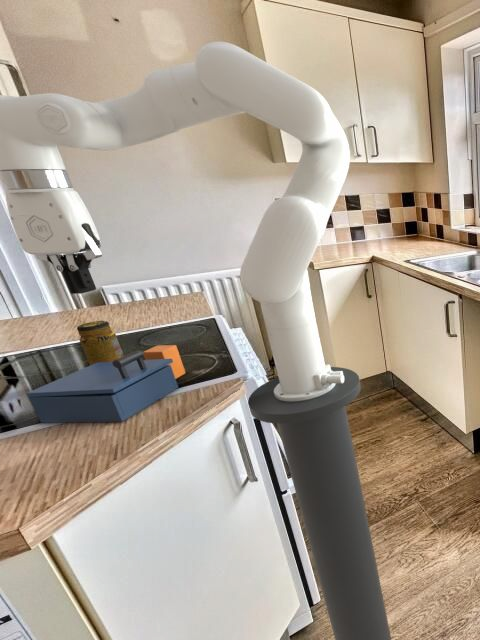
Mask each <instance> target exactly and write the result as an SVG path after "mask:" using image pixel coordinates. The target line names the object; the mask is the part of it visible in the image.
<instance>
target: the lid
mask: <svg viewBox="0 0 480 640" xmlns="http://www.w3.org/2000/svg"><path fill="white" fill-rule="evenodd" d="M143 352H144V351H142V350H140V349H137V350H134V351H132V352H130V353H128V354H125V355H124V356H123V357H121V358H119V359H116V360H114V361H113V362H97V363H95V364H93V365H89V366H86V367H84V368H81V369H79V370H76V371H73V372H72V373H70V374H67V375H65V376H63V377H60V378H58V379H56V380H54V381H51V382H50V383H47V384H44V385H42V386H39V387H37V388H35V389H32V390H30V391H28V392H25V393H26V396H27V397H40V396H61V395H81V394H102V393H115V392H117V391H119V390H121V389H123V388H125V387H126V386H128V385H130V384H132V383H134V382H136V381H138V380H140V379H142V378H144V377H145V376H147V375H149V374H151V373H153V372H155V371H157V370H159V369H161V368H163V367H165V366H166V365H168V364H170V363H172V362H173V360H172V359H154V360H145V359H143V358H144V354H143Z"/></svg>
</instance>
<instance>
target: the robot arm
mask: <svg viewBox="0 0 480 640" xmlns="http://www.w3.org/2000/svg"><path fill="white" fill-rule="evenodd" d="M242 114H248V115H250V116H252V117H254V118H256V119H258V120H260V121H262V122H264V123H266V124H268V125H269V126H270V125H271V126H272V127H274V128H275V129H278V130H280V131H283V132H284V133H287V134H288V135H290V136H292V137H293V138H295V139H297V140H298V141H300V143H301V147H302V149H301V155H300V158H299V160H298V161H297V163H296V166H295V168H294V170H293V173H292V176H291V179H290V181H289V183H288V185H287V187H286V189H285V191H284V193H283V195H282V197H280V198H277V199H276V200H274V201H273V202H271V204H270V205H268V207H267V209H266V210H265V211H264V214H263V216H262V217H261V220H260V222H259V224H258V227H257V229H256V230H255V231H256V232H255V234H254V236H253V237H252V241H251V243H250V245H249V247H248V249H247V252H246V254H245V257H244V259H243V261H242V263H241V267H240V271H239V278H240V283H241V286H242V288H243V290H244V291H245V293H246V294H247V295H248V296H249V297H250V298H251V299H253V300H254V301H257V302H259V303H260V307H261V313H262V318H263V322H264V326H265V330H266V333H267V338H268V342H269V346H270V350H271V354H272V357H273V361H274V365H275V369H276V373H277V377H279V381H280V383H279V384H278V385H277V386H276V387H275V389H274V395H275V397H276V398H277V399H279V400H282V401H287V402H295V401H304V400H309V399H312V398H316V397H318V396H321V395H323V394H325V393H327V392H329V391H330V390H331V389H333V388H334V386H335V385H336V383H344V375H343V371H332V370H331V368H330V367H331V364H326V362H325V357H324V353H323V347H322V343H321V338H320V334H319V328H318V324H317V323H318V322H317V319H316V315H315V314H316V313H315V308H314V303H313V298H312V292H311V284H310V277H309V271H308V268H309V266H310V263H311V262H312V259H313V257H314V254H315V253H316V250H317V249H318V246H319V244H320V242H321V240H322V238H323V237H324V235H325V233H326V230H327V225H328V223H329V222H328V221H329V219H330V216H331V214H332V212H333V209H334V208H335V205H336V203H337V201H338V198H339V195H340V193H341V191H342V189H343V187H344V183H345V181H346V178H347V175H348V172H349V169H350V163H351V162H350V158H351V155H350V153H351V152H350V146H349V142H348V138H347V135H346V133H345V131H344V129H343V127H342V126H341V124H340V122H339V120H338V119H337V117H336V116H335V114H334V112H333V111H332V109H331V107H330V104H329V103H328V101H327V100H326V98H325V97H324V96H323V95H322V94H321V93H320V92H319V91H318V90H316V89H315V88H314V87H312V86H311V85H309V84H307V83H305V82H303V81H301V80H300V79H298V78H296V77H294V76H293V75H291V74H289V73H287V72H285V71H283V70H282V69H280V68H277V67H276V66H274V65H273V64H270V63H269V62H267V61H264V60H263V59H261V58H259V57H257V56H256V55H254V54H252V53H250V52H248V51H247V50H245V49H243V48H242V47H240V46H237V45H236V44H234V43H230V42H226V41H212V42H208V43H207V44H205V45H203V46H202V47H200V48H199V50H198V51H197V54H196V55H195V60H194V61H191V62H186V63H181V64H177V65H173V66H168V67H163V68H158V69H154V70H151V71H149V72H147V74H146V75H145V77H144V80H143V84H142V85H141V87H140V88H138V89H137V90H134V91H133V92H130V93H128V94H125V95H121V96H117V97H114V98H110V99H105V100H100V101H96V102H91V101H88V100H83V99H81V98H77V97H72V96H70V95H65V94H61V93H46V92H45V93H37V94H30V95H21V96H14V95H3V94H0V176H1V178H2V182H3V183H4V185H5V187H6V189H7V192H5V201H6V206H7V211H8V214H9V218H10V221H11V224H12V227H13V230H14V232H15V235H16V237H17V240H18V243H19V244H20V246H21V249H22V250H23V251H24V253H27V254H28V255H29V254H30V255H33V256H34V255H35V258H36V259H37V260H39V261H44V262H49V263H51V264H52V265H53V267H54V268H55V269H56V270H57V271H58V272H59V273H60V272H61V274H62V276H63V279H64V282H65V284H66V286H67V288H68V291H69V293H70V294H72V295H77V294H78V295H80V294H85V293H89V292H94V291H96V290H97V287H96V284H95V281H94V279H93V277H92V274H91V271H90V269H91V268H92V261H93V260H96V259H98V258H101V257H103V253H102V252H101V250H100V248H101V247H102V241H101V238H100V235H99V231H98V229H97V227H96V224H95V222H94V220H93V218H92V215H91V214H90V212H89V209H88V207H87V206H86V205H85V202H84V200H83V199H82V197H81V196H80V194H79V193H78V191H77V190H74V189H75V188H74V186H73V184H72V181H71V179H70V176H69V173H68V171H67V168H66V165H65V163H64V161H63V157H62V156H61V152H60V150H59V148H58V147H65V148H66V147H67V148H73V149H83V150H93V151H98V152H99V151H101V152H108V151H109V152H110V151H115V150H120V149H124V148H129V147H132V146H137V145H140V144H144V143H148V142H151V141H154V140H155V141H156V140H157V139H161V138H164V137H166V136H168V135H171V134H175V133H178V132H180V131H181V130H185V129H186V128H190V127H194V126H198V125H202V124H206V123H210V122H214V121H217V120H221V119H226V118H229V117H234V116H237V115H242Z"/></svg>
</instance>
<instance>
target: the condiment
mask: <svg viewBox="0 0 480 640" xmlns="http://www.w3.org/2000/svg"><path fill="white" fill-rule="evenodd" d="M76 330H77V332H78V335H79V336H80V337H79V343H80V345H81V348H82V350H83V353H84V355H85V357H86V360H87V362H88V364H89V366H90V365H93V364H95V363H97V362H113V361H114V360H116V359H119V358H121V357H123V356H125V355H124V352H123V350H122V347H121V345H120V341H119V339H118V337H117V334H116V333H115V332H114V331H113V330H112V328H111V326H110V323H109V322H108V321H107V320H95V321H90V322H86V323H82V324H79V325H78V326H77V327H76Z"/></svg>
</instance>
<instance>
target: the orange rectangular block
mask: <svg viewBox="0 0 480 640" xmlns="http://www.w3.org/2000/svg"><path fill="white" fill-rule="evenodd" d="M142 352H143V354H144V356H143V358H144V360H154V359H172V360H173V362H172V363H170V364H168V365H171V368H172V371H173V373H174V376H175V379H176V380H177V379H178V378H180V377H182V376H183V375H185V374H186V369H185V367H184V363H183V361H182V358H181V356H180V353H179V349H178V347H177V344H168V345H167V344H166V345H165V344H164V345H163V344H161V345H155V346H153V347H151V348H149V349H146V350H144V351H142Z"/></svg>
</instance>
